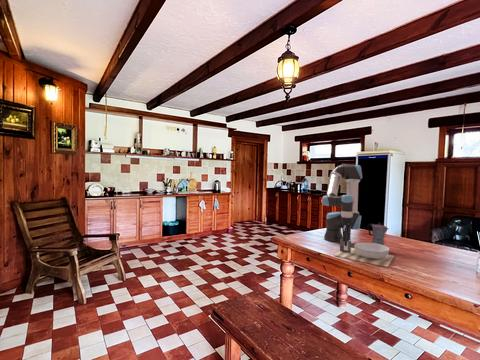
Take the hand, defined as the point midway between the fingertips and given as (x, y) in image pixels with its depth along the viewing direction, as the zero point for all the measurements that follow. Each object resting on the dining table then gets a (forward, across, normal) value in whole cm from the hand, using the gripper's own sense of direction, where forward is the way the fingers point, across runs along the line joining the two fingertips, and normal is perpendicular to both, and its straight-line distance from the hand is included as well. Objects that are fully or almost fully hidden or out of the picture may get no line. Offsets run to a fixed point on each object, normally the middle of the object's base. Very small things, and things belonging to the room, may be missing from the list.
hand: (346, 249), depth 180 cm
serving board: (+2, 0, -12) cm, 12 cm away
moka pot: (+2, +25, -15) cm, 29 cm away
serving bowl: (+2, 0, -16) cm, 16 cm away
